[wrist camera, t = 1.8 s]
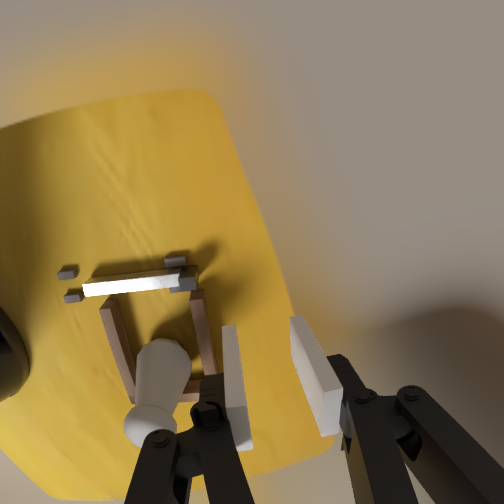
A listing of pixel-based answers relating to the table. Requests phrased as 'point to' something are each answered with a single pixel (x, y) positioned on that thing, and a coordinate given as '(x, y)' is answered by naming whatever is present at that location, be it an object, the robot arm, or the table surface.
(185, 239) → the table surface
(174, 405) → the salt shaker
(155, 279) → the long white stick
